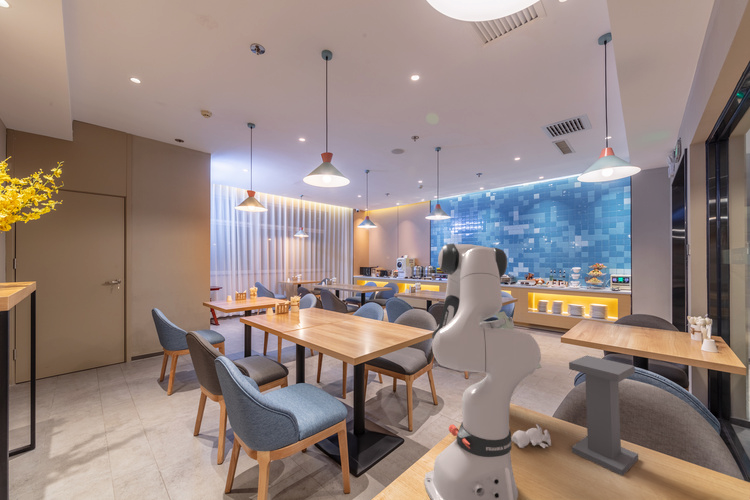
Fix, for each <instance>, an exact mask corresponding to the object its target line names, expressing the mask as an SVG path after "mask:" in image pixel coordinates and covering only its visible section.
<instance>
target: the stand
mask: <svg viewBox="0 0 750 500" xmlns="http://www.w3.org/2000/svg"><path fill="white" fill-rule="evenodd" d="M568 368H569V370H571V371H574V372H579V373H583V374H585V375H584V377H585V403H586V432H587V433H586V434H587V435H585V437H583V438H582V439H580V440H579V441H578V442H576V443H575V444H574V445H572V446H571V452H572V453H573V454H575V455H577V456H579V457H580V458H583V459H586V460H587V461H590V462H591V463H594V464H596V465H598V466H601V467H602V468H604V469H606V470H609V471H611V472H613V473H615V474H617V475H619V476H621V477H623V476H625V474H626V473H627V471H629V470H630V469H631V467H633V466H634V465H635V463H636V462H637V461H638V460H639V453H637V452H634V451H632V450H630V449H628V448H625V447H622V443H621V442H622V441H621V420H620V419H621V418H620V416H621V415H620V392H619V391H620V390H619V389H620V388H619V383H620V382H622V381H624V380H625V379H627V378H629V377H631V376H632V375H634V374H635V371H636V369H635V365H632V364H628V363H627V364H626V363H623V362H620V361H613V360H609V359H605V358H600V357H595V356H592V355H591V356H590V355H584V356H582V357H580V358H577V359H574V360H571V361H569V362H568Z"/></svg>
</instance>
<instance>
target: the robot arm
mask: <svg viewBox="0 0 750 500" xmlns="http://www.w3.org/2000/svg"><path fill="white" fill-rule="evenodd" d="M437 263H438V266H439V270H440V271H441V272H442V273H444V274H445V275H447V278H446V279H447V281H446V289H445V295H444V300H443V301H444V303H443V308H442V312H441V316H440V320H439V324H437V327H436V329H434V331H433V332H432V334H431V337H432V345H431V346H432V347H431V348H432V353H433V356H434V358H435V360H436V362H437V363H438V364H439V366H441V367H444V368H447V369H450V370H454V371H455V370H456V371H458V372H459V371H460V372H461V371H462V372H472V373H482V374H485V375H486V376H485V377H484V378H483V379H482V380H480V381H478V382H475V383H473V384H471V385H469V386H468V387H467V388H466V389H465V390H464V391H463V395H462V399H461V400H462V404H461V407H462V409H461V411H462V421H461V423H460V426H459V428H457V427H456V425H455V424H450V425H449V427H448V431H449V433H451V435H452V436H453V437H456V438H455V440H453V441H452V442H451V443H450V444H448V446H446V447H445V448H444V449H443V450H442V451H441V452H440V453H439V454H437V456H436V457H435V460H434V465H433V469H432V470H430V471H427V472H425V475H424V480H423V481H424V486H425V491H426V493H427V495H428V496H429V499H431V500H518V498H519V491H518V486H517V484H516V480H515V477H514V471H513V464H512V456H511V451H512V446H513V445H512V441H511V438H512V432H511V429H510V409H511V408H510V407H511V400H512V397H513V394H514V392H515V390H516V389H517V387H519V384H520V383H521V382H522V381H523V380H524V379H526V378H527V377H528V376H531V375H532V374H534V373H535V372H536V371H537V370H538V369H537V368H538V366H539V364H540V365H541V361H542V359H541V358H542V353H541V349H540V346H539V343H538V342H537V340H536V339H535V338H534V337H533V335H531V334H530V333H528V332H523V331H520V330H515V329H514V330H512V329H503V327H502V324H505V323H506V320H505V319H500V320H498V319H496V320H492V321H491V320H490V321H486V320H488V319H491V318H493V317H495V316H496V314H497V313H499V312H501V310H502V308H503V295H502V287H501V284H502V283H501V278H502V277H503V276H504V275H505V274H506V271H507V269H508V268H507V267H508V257H507V254H506V253H505V251H504V250H503V249H500V248H498V247H495V246H493V247H489V246H484V245H474V244H473V243H472V244H471V243H469V244H468V243H467V244H466V243H465V244H464V243H463V244H462V243H458V244H457V243H456V244H455V243H447V244H444V245H443V246H442V247H441V250H440V251H439V252H438V258H437ZM508 319H509V321H510V323H511V324H512V326H513V328H514V327H515V323H514V318H513V317H508Z"/></svg>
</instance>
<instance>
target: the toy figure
mask: <svg viewBox="0 0 750 500" xmlns="http://www.w3.org/2000/svg"><path fill="white" fill-rule="evenodd" d="M535 425H536V427H537V428H536V427H531V428H528V429H527V430H520V429H517V431H514V433H513V434H512V435H511V442H513V443H515V444H516V445H517V446H518V447H519V448H521V449H524V448H525V447H527V446H528V445H529V443H531V445H532V446H533V447H535V446H540V447H542V448H543V449H546V447H547V448H549V446H552V440H551V435H550V433H549V430H547V429H545V430H543V429H542V427H541V426H540V425H539V424H538V423H536V424H535ZM543 433H544V434H543ZM544 442H545V443H544ZM546 443H547V444H546Z"/></svg>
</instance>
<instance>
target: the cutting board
mask: <svg viewBox="0 0 750 500" xmlns="http://www.w3.org/2000/svg"><path fill="white" fill-rule="evenodd" d="M495 316H496V318H497V320H500V319H505V320H506V323H505V324H502V327H503V329H512V330H515V328H514V327H513V326H512V324H511V323H510V321H509V319H508V318H509V317H508V316H507V314H506V312H505V311H499V312H498V313H497V314H496V315H495ZM540 368H542V365H541V363H540V364H539V366H538V368H537V369H536V370H538V369H540Z"/></svg>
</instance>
